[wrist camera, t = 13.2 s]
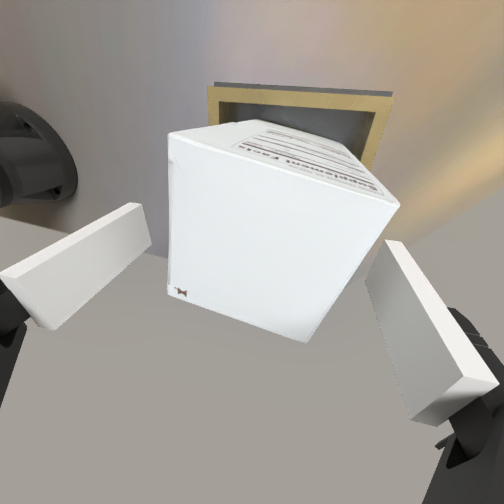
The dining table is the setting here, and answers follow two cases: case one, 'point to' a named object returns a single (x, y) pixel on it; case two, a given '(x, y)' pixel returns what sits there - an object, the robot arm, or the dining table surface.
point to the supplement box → (268, 222)
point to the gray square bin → (308, 112)
